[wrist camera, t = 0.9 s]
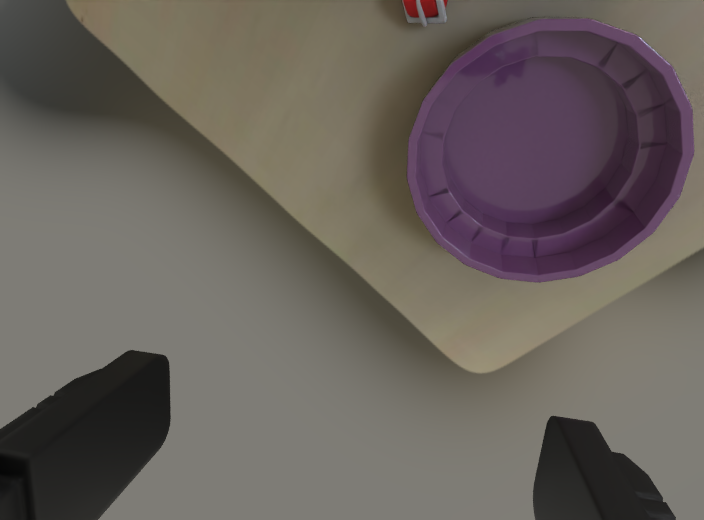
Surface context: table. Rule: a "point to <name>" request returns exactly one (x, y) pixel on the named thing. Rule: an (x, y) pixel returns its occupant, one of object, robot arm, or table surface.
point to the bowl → (550, 149)
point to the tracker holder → (425, 11)
